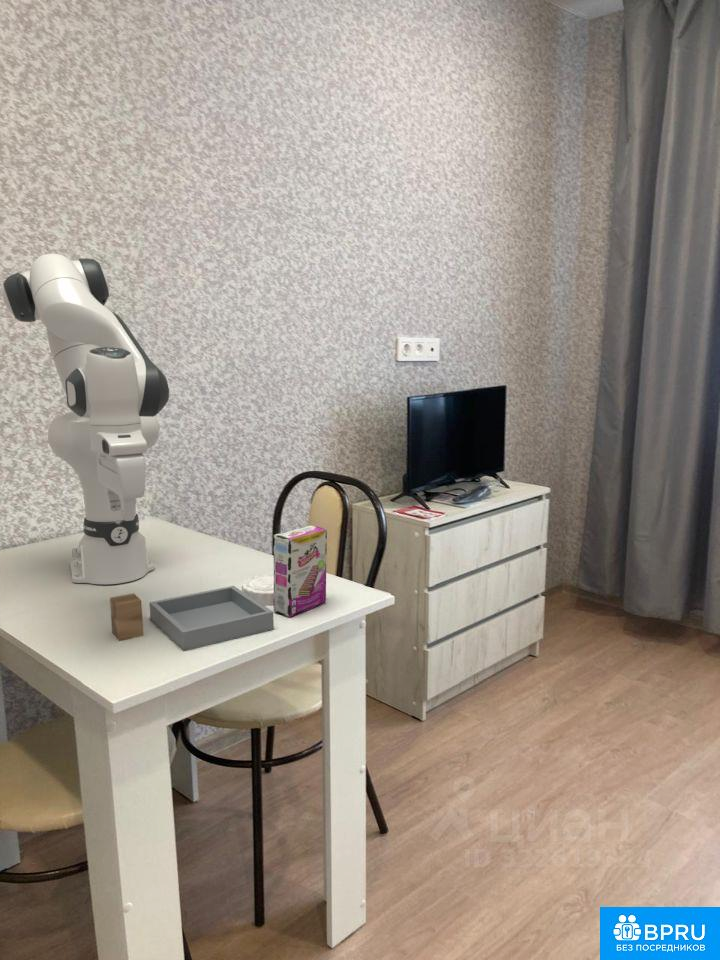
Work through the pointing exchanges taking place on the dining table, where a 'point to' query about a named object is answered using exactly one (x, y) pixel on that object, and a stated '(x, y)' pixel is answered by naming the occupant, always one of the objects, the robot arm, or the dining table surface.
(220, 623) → the tray
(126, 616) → the walnut block
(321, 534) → the candy bar box
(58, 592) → the dining table surface
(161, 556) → the dining table surface
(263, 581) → the mooncake
